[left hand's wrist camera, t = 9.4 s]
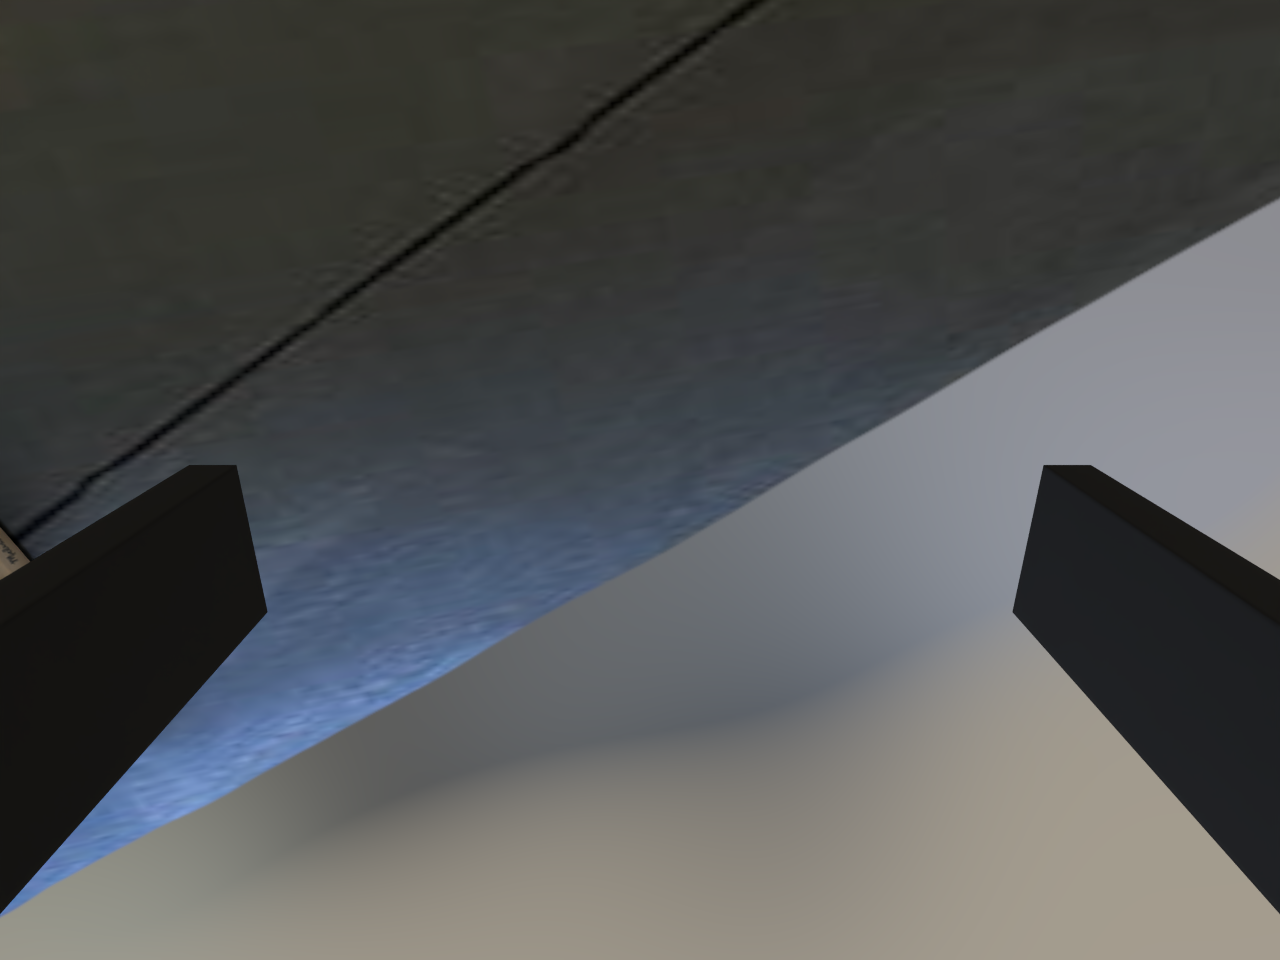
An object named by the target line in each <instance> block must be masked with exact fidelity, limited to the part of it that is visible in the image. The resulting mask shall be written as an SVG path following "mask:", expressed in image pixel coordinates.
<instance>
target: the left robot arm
mask: <svg viewBox="0 0 1280 960" xmlns="http://www.w3.org/2000/svg"><path fill="white" fill-rule="evenodd" d="M266 613H267V607H266V603H265V598H264V593H263V589H262V584H261V579H260V574H259V570H258V565H257V560H256V556H255V551H254V546H253V541H252V537H251V532H250V527H249V523H248V518H247V513H246V508H245V504H244V499H243V494H242V489H241V485H240V480H239V475H238V471H237V466H236V465H189V466H187V467H185V468H184V469H182V470H180V471H179V472H177V473H175V474H174V475H172V476H171V477H169V478H167V479H166V480H164V481H162V482H161V483H159V484H157V485H156V486H154V487H152V488H151V489H149V490H147V491H146V492H144V493H143V494H141V495H139V496H138V497H136V498H134V499H133V500H131V501H129V502H128V503H126V504H124V505H123V506H121V507H119V508H118V509H116V510H115V511H113V512H111V513H110V514H108V515H106V516H105V517H103V518H101V519H100V520H98V521H96V522H95V523H93V524H92V525H90V526H88V527H87V528H85V529H83V530H82V531H80V532H78V533H77V534H75V535H73V536H72V537H70V538H68V539H67V540H65V541H64V542H62V543H60V544H59V545H57V546H55V547H54V548H52V549H50V550H49V551H47V552H45V553H44V554H42V555H40V556H39V557H37V558H36V559H34V560H32V561H31V562H29V563H27V564H26V565H24V566H22V567H21V568H19V569H17V570H16V571H14V572H12V573H11V574H9V575H8V576H6V577H4V578H3V579H1V580H0V914H1V912H2V911H3V910H4V909H5V908H6V907H7V906H8V905H9V903H10V902H11V901H12V900H13V899H14V898H15V897H16V895H17V894H18V893H19V892H20V891H21V890H22V889H23V888H24V886H25V885H26V884H27V883H28V882H29V881H30V880H31V879H32V877H33V876H34V875H35V874H36V873H37V872H38V871H39V870H40V868H41V867H42V866H43V865H44V864H45V863H46V862H47V860H48V859H49V858H50V857H51V856H52V855H53V854H54V853H55V851H56V850H57V849H58V848H59V847H60V846H61V845H62V844H63V842H64V841H65V840H66V839H67V838H68V837H69V836H70V835H71V833H72V832H73V831H74V830H75V829H76V828H77V827H78V825H79V824H80V823H81V822H82V821H83V820H84V819H85V818H86V816H87V815H88V814H89V813H90V812H91V811H92V810H93V809H94V807H95V806H96V805H97V804H98V803H99V802H100V801H101V800H102V798H103V797H104V796H105V795H106V794H107V793H108V792H109V790H110V789H111V788H112V787H113V786H114V785H115V784H116V783H117V781H118V780H119V779H120V778H121V777H122V776H123V775H124V774H125V772H126V771H127V770H128V769H129V768H130V767H131V766H132V764H133V763H134V762H135V761H136V760H137V759H138V758H139V757H140V755H141V754H142V753H143V752H144V751H145V750H146V749H147V748H148V746H149V745H150V744H151V743H152V742H153V741H154V740H155V739H156V737H157V736H158V735H159V734H160V733H161V732H162V731H163V729H164V728H165V727H166V726H167V725H168V724H169V723H170V722H171V720H172V719H173V718H174V717H175V716H176V715H177V714H178V713H179V711H180V710H181V709H182V708H183V707H184V706H185V705H186V704H187V702H188V701H189V700H190V699H191V698H192V697H193V696H194V694H195V693H196V692H197V691H198V690H199V689H200V688H201V687H202V685H203V684H204V683H205V682H206V681H207V680H208V679H209V678H210V676H211V675H212V674H213V673H214V672H215V671H216V670H217V668H218V667H219V666H220V665H221V664H222V663H223V662H224V661H225V659H226V658H227V657H228V656H229V655H230V654H231V653H232V652H233V650H234V649H235V648H236V647H237V646H238V645H239V644H240V643H241V641H242V640H243V639H244V638H245V637H246V636H247V635H248V633H249V632H250V631H251V630H252V629H253V628H254V627H255V626H256V624H257V623H258V622H259V621H260V620H261V619H262V618H263V617H264V615H265V614H266ZM1013 613H1014V614H1015V615H1016V617H1017V618H1018V619H1019V620H1020V621H1021V622H1022V623H1023V624H1024V626H1025V627H1026V628H1027V629H1028V630H1029V631H1030V632H1031V633H1032V635H1033V636H1034V637H1035V638H1036V639H1037V640H1038V641H1039V643H1040V644H1041V645H1042V646H1043V647H1044V648H1045V649H1046V650H1047V652H1048V653H1049V654H1050V655H1051V656H1052V657H1053V658H1054V659H1055V661H1056V662H1057V663H1058V664H1059V665H1060V666H1061V667H1062V668H1063V670H1064V671H1065V672H1066V673H1067V674H1068V675H1069V676H1070V678H1071V679H1072V680H1073V681H1074V682H1075V683H1076V684H1077V685H1078V687H1079V688H1080V689H1081V690H1082V691H1083V692H1084V693H1085V694H1086V696H1087V697H1088V698H1089V699H1090V700H1091V701H1092V702H1093V704H1094V705H1095V706H1096V707H1097V708H1098V709H1099V710H1100V711H1101V713H1102V714H1103V715H1104V716H1105V717H1106V718H1107V719H1108V720H1109V722H1110V723H1111V724H1112V725H1113V726H1114V727H1115V728H1116V729H1117V731H1118V732H1119V733H1120V734H1121V735H1122V736H1123V737H1124V739H1125V740H1126V741H1127V742H1128V743H1129V744H1130V745H1131V746H1132V748H1133V749H1134V750H1135V751H1136V752H1137V753H1138V754H1139V755H1140V757H1141V758H1142V759H1143V760H1144V761H1145V762H1146V763H1147V764H1148V766H1149V767H1150V768H1151V769H1152V770H1153V771H1154V772H1155V774H1156V775H1157V776H1158V777H1159V778H1160V779H1161V780H1162V781H1163V783H1164V784H1165V785H1166V786H1167V787H1168V788H1169V789H1170V790H1171V792H1172V793H1173V794H1174V795H1175V796H1176V797H1177V798H1178V800H1179V801H1180V802H1181V803H1182V804H1183V805H1184V806H1185V807H1186V809H1187V810H1188V811H1189V812H1190V813H1191V814H1192V815H1193V816H1194V818H1195V819H1196V820H1197V821H1198V822H1199V823H1200V824H1201V825H1202V827H1203V828H1204V829H1205V830H1206V831H1207V832H1208V833H1209V835H1210V836H1211V837H1212V838H1213V839H1214V840H1215V841H1216V842H1217V844H1218V845H1219V846H1220V847H1221V848H1222V849H1223V850H1224V851H1225V853H1226V854H1227V855H1228V856H1229V857H1230V858H1231V859H1232V860H1233V862H1234V863H1235V864H1236V865H1237V866H1238V867H1239V868H1240V870H1241V871H1242V872H1243V873H1244V874H1245V875H1246V876H1247V877H1248V879H1249V880H1250V881H1251V882H1252V883H1253V884H1254V885H1255V886H1256V888H1257V889H1258V890H1259V891H1260V892H1261V893H1262V894H1263V895H1264V897H1265V898H1266V899H1267V900H1268V901H1269V902H1270V903H1271V905H1272V906H1273V907H1274V908H1275V909H1276V910H1277V911H1278V912H1279V914H1280V580H1279V579H1277V578H1276V577H1274V576H1272V575H1271V574H1269V573H1268V572H1266V571H1264V570H1263V569H1261V568H1259V567H1258V566H1256V565H1254V564H1253V563H1251V562H1249V561H1248V560H1246V559H1244V558H1243V557H1241V556H1239V555H1238V554H1236V553H1235V552H1233V551H1231V550H1230V549H1228V548H1226V547H1225V546H1223V545H1221V544H1220V543H1218V542H1216V541H1215V540H1213V539H1212V538H1210V537H1208V536H1207V535H1205V534H1203V533H1202V532H1200V531H1198V530H1197V529H1195V528H1193V527H1192V526H1190V525H1188V524H1187V523H1185V522H1184V521H1182V520H1180V519H1179V518H1177V517H1175V516H1174V515H1172V514H1170V513H1169V512H1167V511H1165V510H1164V509H1162V508H1161V507H1159V506H1157V505H1156V504H1154V503H1152V502H1151V501H1149V500H1147V499H1146V498H1144V497H1142V496H1141V495H1139V494H1137V493H1136V492H1134V491H1133V490H1131V489H1129V488H1128V487H1126V486H1124V485H1123V484H1121V483H1119V482H1118V481H1116V480H1114V479H1113V478H1111V477H1109V476H1108V475H1106V474H1105V473H1103V472H1101V471H1100V470H1098V469H1096V468H1095V467H1093V466H1091V465H1044V466H1043V471H1042V475H1041V480H1040V485H1039V489H1038V494H1037V499H1036V504H1035V508H1034V513H1033V518H1032V523H1031V527H1030V532H1029V537H1028V541H1027V546H1026V551H1025V556H1024V560H1023V565H1022V570H1021V574H1020V579H1019V584H1018V589H1017V593H1016V598H1015V603H1014V607H1013Z"/></svg>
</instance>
